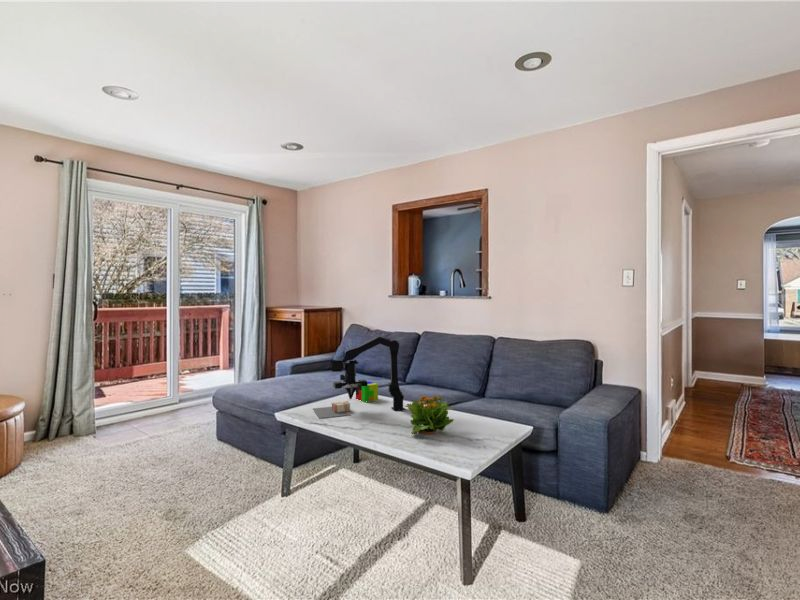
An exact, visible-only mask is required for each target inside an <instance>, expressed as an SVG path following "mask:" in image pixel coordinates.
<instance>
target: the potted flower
mask: <svg viewBox="0 0 800 600" xmlns="http://www.w3.org/2000/svg"><path fill="white" fill-rule="evenodd" d="M442 400H443V395H439V396H438V395H436V394H435V395H433V397H432V398H431V397H428V396H427V395H424V396H421V397H420V398H419V401H418V400H415V399H414V400H413V401H412V402H411V403H406V405H404V408H405V407H407V408H408V410H409V411H410V413H411V415H410V417H411V419H410V424H411V426H413V428H412V431H411V432H410V433H411V434H412V435H416V434H418V433H419V434H422V435H426V436H427V435H429V436H430V435H434V434H436V433H437V432H438V431H444V430H445V429H446V426H449V425H450V424H452V423H453V421H454V418H450V416H448V414H449V410H452V409H453V407H451V406H450V405H449V404H448V402H447V401H446V400H444V401H443V402H442Z"/></svg>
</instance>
